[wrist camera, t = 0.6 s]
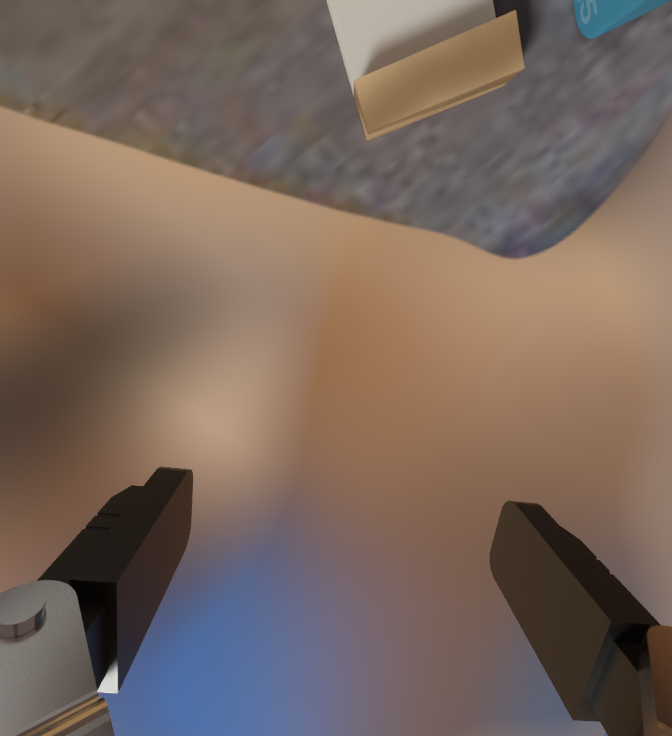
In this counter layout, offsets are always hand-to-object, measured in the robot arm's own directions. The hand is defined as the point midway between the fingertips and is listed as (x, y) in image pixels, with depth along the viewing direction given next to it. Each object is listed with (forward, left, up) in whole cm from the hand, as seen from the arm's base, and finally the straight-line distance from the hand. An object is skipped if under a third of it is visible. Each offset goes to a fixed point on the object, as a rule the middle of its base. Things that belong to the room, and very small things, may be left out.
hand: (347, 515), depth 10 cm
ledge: (-13, +10, -25) cm, 30 cm away
